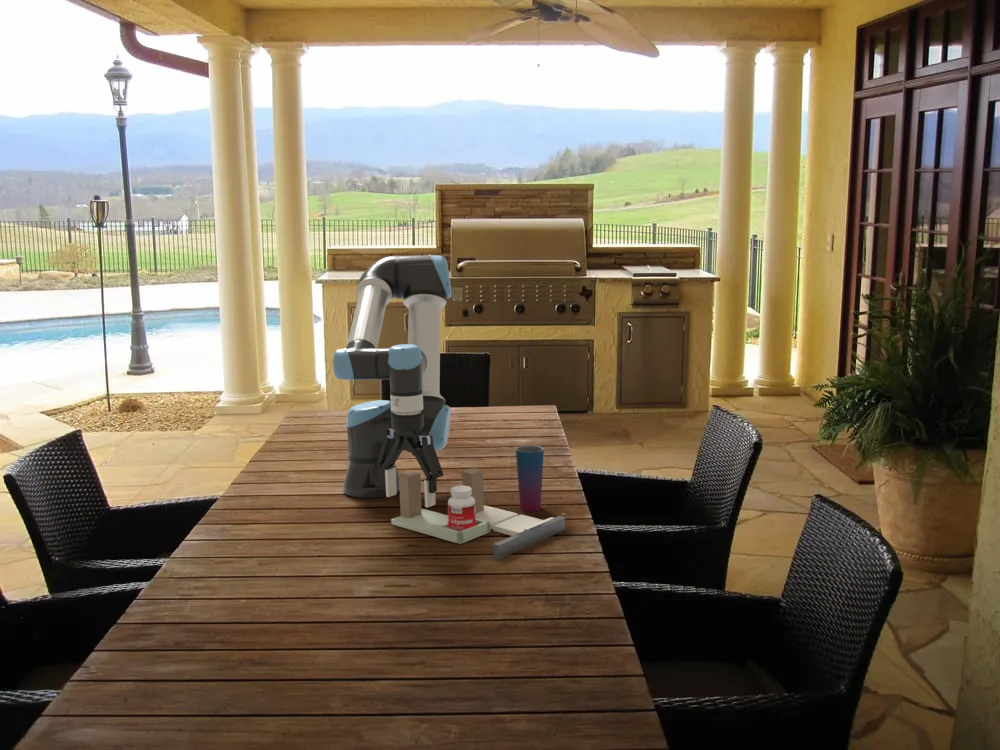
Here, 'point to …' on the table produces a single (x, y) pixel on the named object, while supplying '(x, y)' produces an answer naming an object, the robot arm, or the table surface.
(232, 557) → the table surface
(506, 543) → the end bar
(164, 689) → the table surface
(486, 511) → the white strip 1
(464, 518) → the pill bottle
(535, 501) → the cup
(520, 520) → the white strip
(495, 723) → the table surface
